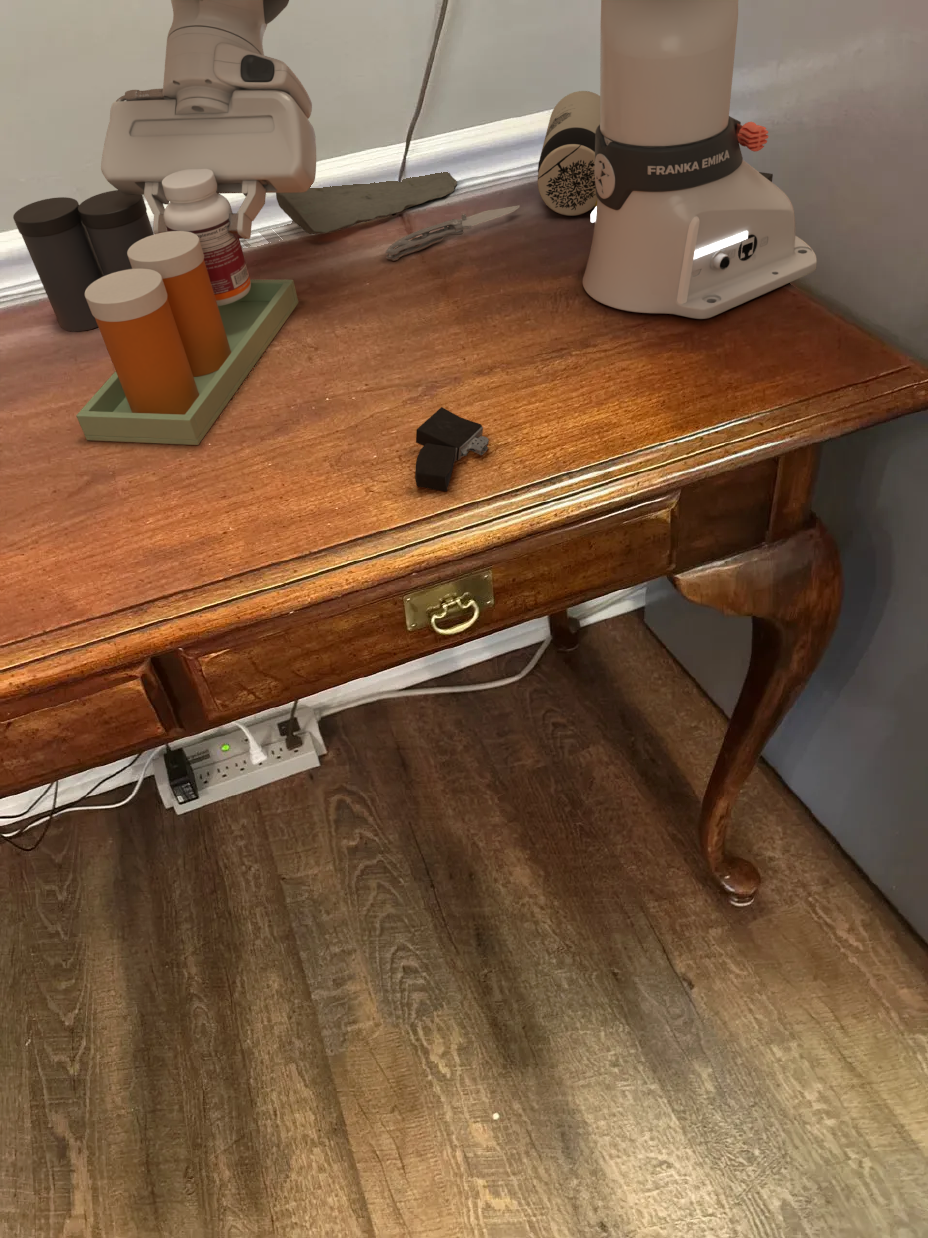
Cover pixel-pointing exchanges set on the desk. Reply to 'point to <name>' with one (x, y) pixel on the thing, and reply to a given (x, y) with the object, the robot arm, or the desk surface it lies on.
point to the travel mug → (570, 155)
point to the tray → (248, 338)
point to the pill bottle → (208, 230)
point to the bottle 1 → (186, 295)
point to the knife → (442, 232)
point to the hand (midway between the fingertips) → (201, 236)
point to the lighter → (445, 447)
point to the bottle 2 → (143, 341)
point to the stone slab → (360, 201)
